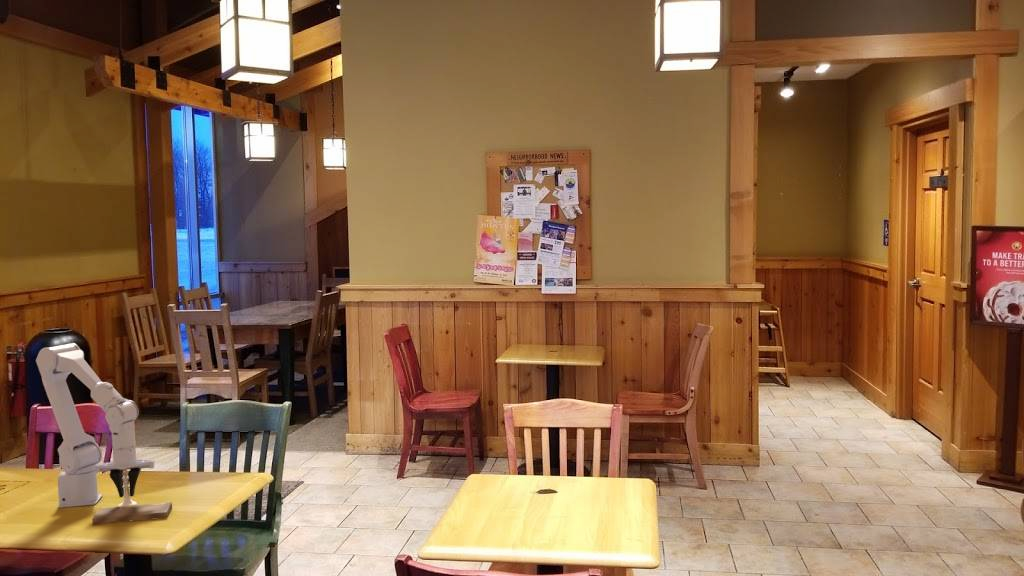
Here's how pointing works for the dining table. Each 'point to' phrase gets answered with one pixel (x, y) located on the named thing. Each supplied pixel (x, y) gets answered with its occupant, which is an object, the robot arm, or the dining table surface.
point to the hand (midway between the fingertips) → (127, 495)
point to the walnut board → (132, 513)
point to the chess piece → (126, 492)
